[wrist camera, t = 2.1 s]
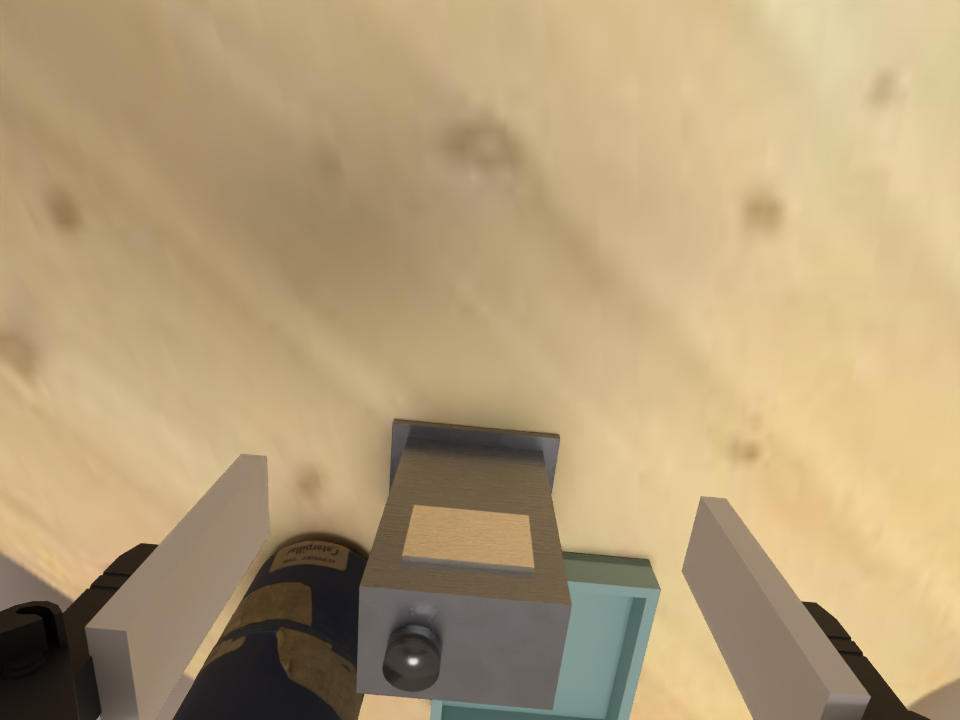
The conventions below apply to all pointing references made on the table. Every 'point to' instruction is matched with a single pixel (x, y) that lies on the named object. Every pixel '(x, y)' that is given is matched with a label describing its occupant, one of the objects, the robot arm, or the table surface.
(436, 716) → the tray
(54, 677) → the robot arm
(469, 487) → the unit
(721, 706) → the table surface
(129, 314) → the table surface
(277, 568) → the canister
